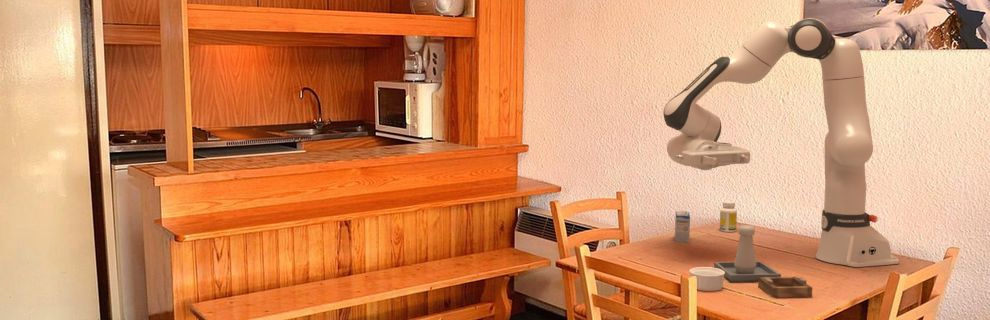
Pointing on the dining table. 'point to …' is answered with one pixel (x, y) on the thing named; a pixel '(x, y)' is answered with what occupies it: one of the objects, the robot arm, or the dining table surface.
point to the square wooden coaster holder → (785, 287)
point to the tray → (735, 277)
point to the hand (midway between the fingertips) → (731, 161)
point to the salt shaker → (745, 251)
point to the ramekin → (708, 278)
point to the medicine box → (682, 226)
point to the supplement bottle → (728, 217)
